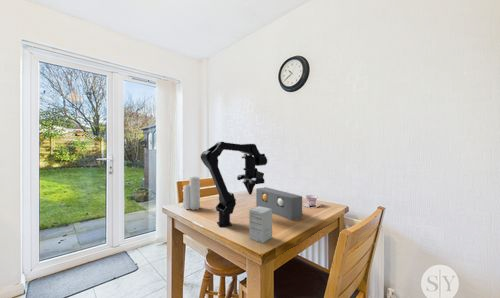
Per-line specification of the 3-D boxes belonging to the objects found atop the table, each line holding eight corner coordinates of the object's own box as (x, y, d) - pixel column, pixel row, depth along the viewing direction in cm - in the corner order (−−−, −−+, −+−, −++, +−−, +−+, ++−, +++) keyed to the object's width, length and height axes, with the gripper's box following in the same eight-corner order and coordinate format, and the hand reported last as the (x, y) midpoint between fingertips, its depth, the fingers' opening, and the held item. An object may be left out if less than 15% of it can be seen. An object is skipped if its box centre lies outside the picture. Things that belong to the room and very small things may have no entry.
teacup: (305, 202, 152) (305, 193, 152) (323, 204, 145) (323, 195, 145) (300, 206, 141) (300, 197, 141) (318, 209, 135) (318, 199, 135)
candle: (201, 207, 140) (201, 176, 140) (197, 210, 133) (196, 178, 133) (185, 206, 142) (185, 176, 142) (180, 209, 135) (179, 177, 135)
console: (291, 220, 114) (291, 198, 114) (256, 206, 140) (256, 188, 140) (302, 217, 119) (302, 196, 119) (265, 204, 145) (265, 187, 145)
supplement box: (259, 233, 98) (259, 205, 98) (272, 237, 93) (272, 208, 93) (248, 238, 92) (248, 209, 92) (262, 243, 87) (262, 212, 87)
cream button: (282, 206, 120) (282, 199, 120) (277, 205, 123) (277, 197, 123) (285, 206, 121) (285, 198, 121) (279, 204, 124) (279, 197, 124)
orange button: (267, 201, 131) (267, 194, 131) (262, 200, 135) (262, 193, 135) (269, 201, 132) (269, 194, 132) (264, 199, 136) (264, 192, 136)
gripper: (272, 166, 115) (272, 195, 116) (252, 164, 131) (252, 189, 131) (255, 168, 109) (255, 198, 109) (236, 165, 124) (236, 192, 125)
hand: (250, 194), depth 119 cm, fingers closed
